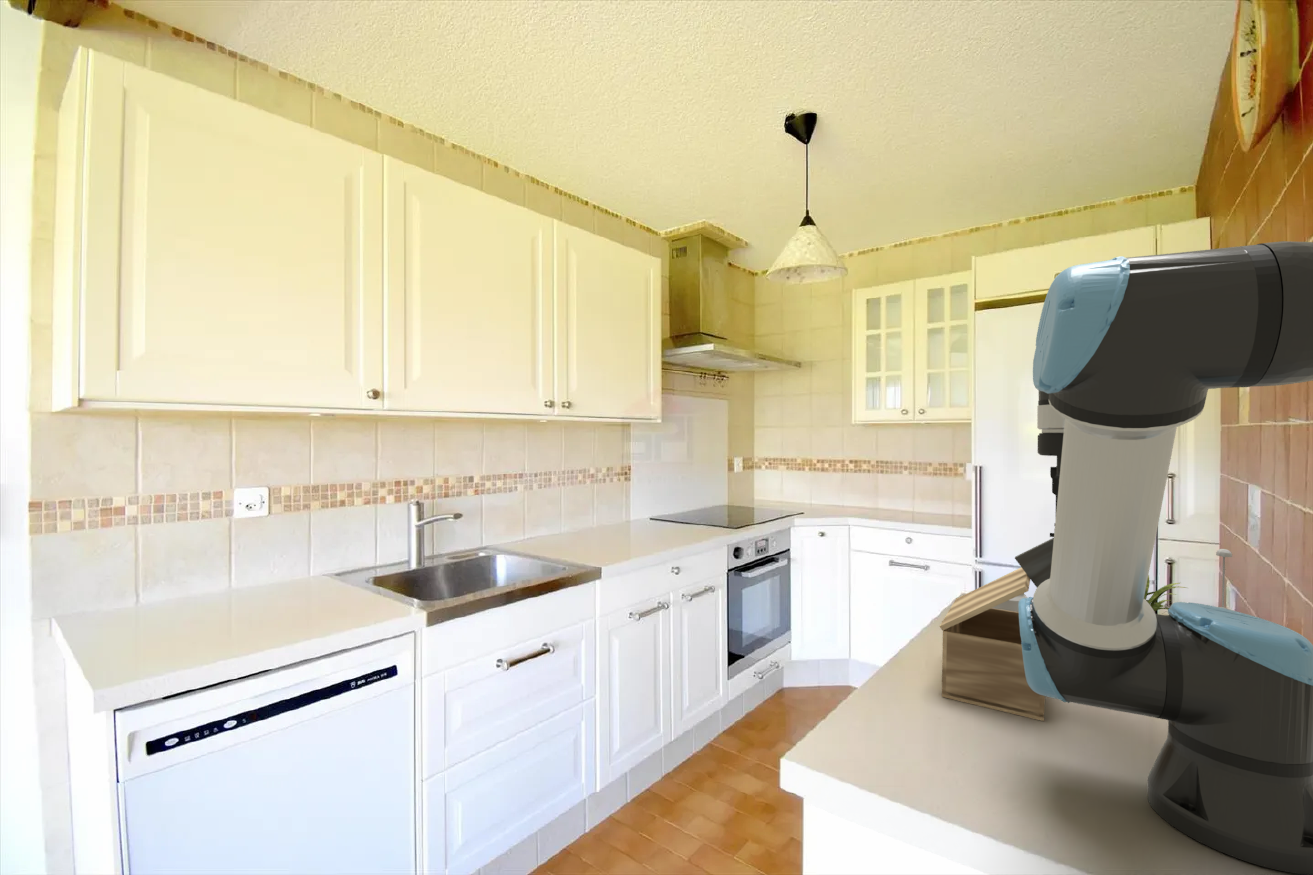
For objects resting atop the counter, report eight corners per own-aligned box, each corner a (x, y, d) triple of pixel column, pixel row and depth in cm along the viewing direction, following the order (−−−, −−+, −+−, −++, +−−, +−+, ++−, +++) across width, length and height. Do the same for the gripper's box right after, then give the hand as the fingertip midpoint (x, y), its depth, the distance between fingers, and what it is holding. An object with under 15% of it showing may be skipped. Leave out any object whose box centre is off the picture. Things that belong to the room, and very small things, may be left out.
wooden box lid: (1105, 573, 84) (1076, 536, 86) (950, 642, 96) (927, 608, 97) (1097, 551, 101) (1073, 520, 103) (966, 612, 112) (946, 584, 114)
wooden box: (1043, 721, 88) (1045, 649, 88) (941, 696, 96) (942, 631, 96) (1045, 676, 105) (1046, 616, 105) (958, 658, 113) (959, 602, 113)
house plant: (1204, 673, 107) (1205, 584, 107) (1110, 660, 113) (1111, 575, 113) (1175, 648, 120) (1176, 568, 120) (1092, 637, 126) (1094, 561, 126)
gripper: (1096, 431, 87) (1095, 589, 87) (1091, 432, 99) (1090, 571, 99) (1036, 431, 91) (1035, 582, 91) (1038, 432, 103) (1037, 565, 103)
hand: (1064, 576), depth 95 cm, fingers closed on wooden box lid, 2 cm apart
